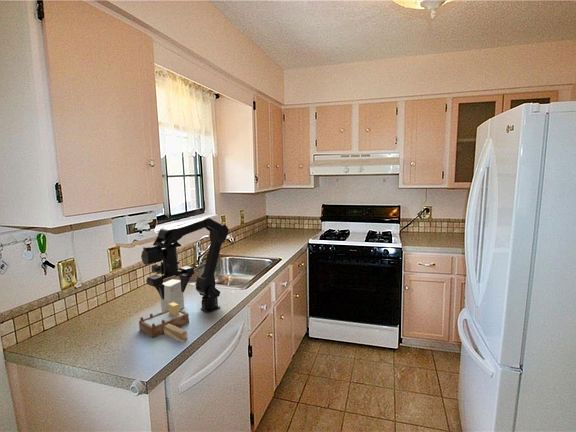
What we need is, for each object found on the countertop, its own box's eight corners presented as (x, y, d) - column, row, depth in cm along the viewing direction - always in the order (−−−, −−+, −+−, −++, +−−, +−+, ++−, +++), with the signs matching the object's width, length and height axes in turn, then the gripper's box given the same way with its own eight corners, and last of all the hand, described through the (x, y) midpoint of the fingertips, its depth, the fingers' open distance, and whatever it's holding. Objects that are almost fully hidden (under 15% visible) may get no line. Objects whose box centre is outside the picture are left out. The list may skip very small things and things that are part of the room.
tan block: (169, 332, 130) (168, 323, 129) (187, 339, 124) (186, 330, 123) (164, 334, 128) (163, 325, 127) (182, 342, 122) (181, 333, 121)
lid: (174, 311, 141) (173, 300, 141) (184, 315, 137) (183, 304, 136) (143, 323, 131) (142, 311, 130) (153, 328, 126) (152, 316, 126)
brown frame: (175, 316, 143) (174, 304, 143) (189, 322, 137) (188, 310, 136) (139, 330, 131) (138, 318, 131) (152, 338, 125) (151, 325, 124)
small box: (174, 305, 155) (172, 278, 153) (184, 307, 153) (182, 280, 151) (161, 312, 148) (158, 284, 146) (172, 314, 145) (169, 286, 143)
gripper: (178, 251, 145) (181, 285, 148) (137, 261, 131) (141, 298, 133) (193, 254, 138) (196, 290, 141) (152, 266, 124) (156, 305, 126)
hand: (173, 295), depth 136 cm, fingers open, 9 cm apart
